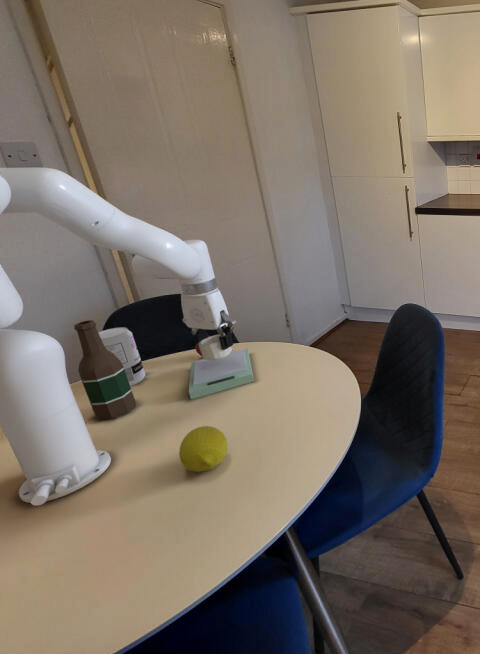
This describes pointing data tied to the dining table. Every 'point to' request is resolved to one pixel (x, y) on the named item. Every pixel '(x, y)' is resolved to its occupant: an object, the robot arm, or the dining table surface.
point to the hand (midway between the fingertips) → (215, 346)
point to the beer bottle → (103, 375)
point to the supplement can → (124, 352)
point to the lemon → (203, 449)
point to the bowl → (213, 348)
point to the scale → (220, 373)
